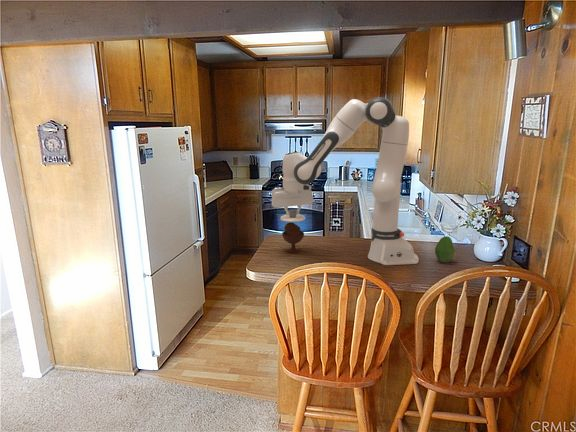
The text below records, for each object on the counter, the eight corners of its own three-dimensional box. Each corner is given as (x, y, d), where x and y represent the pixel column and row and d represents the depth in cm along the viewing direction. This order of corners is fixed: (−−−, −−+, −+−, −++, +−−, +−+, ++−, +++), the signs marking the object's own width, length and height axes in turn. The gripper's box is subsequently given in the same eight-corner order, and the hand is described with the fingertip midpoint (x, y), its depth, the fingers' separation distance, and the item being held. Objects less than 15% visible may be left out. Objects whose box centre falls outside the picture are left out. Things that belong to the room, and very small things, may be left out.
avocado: (453, 260, 167) (455, 234, 164) (453, 266, 160) (455, 239, 157) (434, 257, 171) (436, 233, 168) (433, 263, 164) (435, 238, 161)
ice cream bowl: (302, 255, 177) (302, 225, 173) (280, 254, 179) (279, 224, 175) (306, 248, 187) (305, 219, 183) (284, 247, 189) (283, 219, 186)
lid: (306, 215, 184) (306, 207, 183) (304, 222, 172) (303, 213, 171) (282, 215, 186) (282, 207, 185) (278, 221, 174) (278, 213, 173)
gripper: (273, 189, 169) (274, 218, 172) (314, 186, 175) (314, 214, 179) (269, 187, 175) (270, 215, 178) (309, 184, 181) (309, 211, 184)
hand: (292, 214), depth 178 cm, fingers closed on lid, 3 cm apart
